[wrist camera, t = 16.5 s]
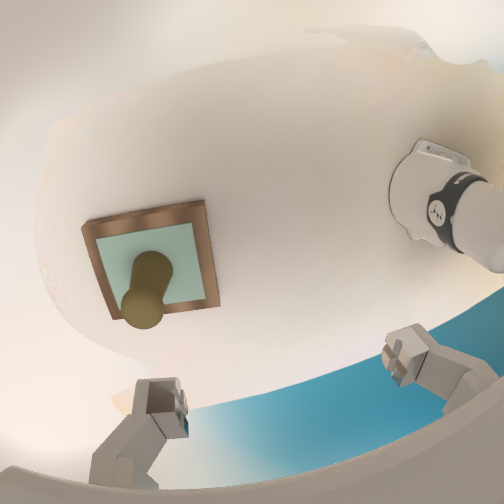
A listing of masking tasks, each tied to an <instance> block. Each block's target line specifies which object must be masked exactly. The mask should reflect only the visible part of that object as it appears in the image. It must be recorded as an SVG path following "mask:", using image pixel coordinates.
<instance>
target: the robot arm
mask: <svg viewBox="0 0 504 504" xmlns="http://www.w3.org/2000/svg"><path fill="white" fill-rule="evenodd" d="M427 147H428V148H427ZM390 206H391V210H392V213H393V215H394V217H395V219H396V220H397V221H398V222H399V223H400V224H401V225H402V226H403V227H405V228H406V229H407V231H408V234H409V236H410V238H411V239H413V240H415V241H418V240H421V239H424V240H426V241H428V242H430V243H432V244H434V245H436V246H438V247H442V246H445V245H447V246H448V247H449V248H450V249H452V250H454V251H457V252H458V253H461V254H466V255H468V256H469V257H470V258H472V259H473V260H475V261H476V262H478V263H479V264H481V265H482V266H483V267H485V268H486V269H488V270H489V271H491V272H493V273H501V274H502V273H504V188H501V187H498V186H495V185H492V184H490V183H488V181H486V180H485V179H484V178H483V177H482V176H481V174H480V172H479V171H477V170H474V169H472V168H471V163H470V160H469V157H467V156H464V155H462V154H460V153H457V152H455V151H452V150H450V149H447V148H445V147H442V146H440V145H437V144H434V143H432V142H429V141H426V140H423V139H420V140H418V142H417V143H416V145H415V147H414V149H413V151H412V152H411V153H410V154H409V155H408V156H407V157H406V158H405V159H404V160H403V161H402V162H401V163H400V164H399V166H398V167H397V169H396V171H395V173H394V175H393V178H392V181H391V186H390ZM385 341H386V343H387V344H386V345H385V347H384V348H383V350H382V361H383V364H384V366H385V368H386V369H387V370H389V371H391V372H392V378H393V380H394V381H395V382H396V384H397V386H398V387H402V386H405V385H407V384H410V383H412V382H415V381H416V383H417V384H419V385H421V386H422V387H424V388H426V389H428V390H429V391H431V392H433V393H434V394H436V395H438V396H440V397H442V398H443V399H445V400H447V401H448V402H447V403H446V405H445V406H444V408H443V411H442V412H443V414H444V415H445V416H443V417H441V418H440V419H438V420H436V421H434V422H432V423H431V424H429V425H427V426H425V427H423V428H421V429H419V430H417V431H415V432H413V433H411V434H409V435H407V436H405V437H403V438H401V439H398V440H396V441H394V442H392V443H389V444H387V445H384V446H382V447H380V448H377V449H375V450H372V451H370V452H367V453H364V454H362V455H359V456H356V457H353V458H351V459H348V460H345V461H342V462H339V463H336V464H332V465H329V466H326V467H322V468H319V469H315V470H312V471H308V472H304V473H300V474H296V475H292V476H287V477H283V478H278V479H273V480H268V481H262V482H256V483H250V484H243V485H236V486H226V487H216V488H204V489H185V490H184V489H183V490H159V485H158V483H156V482H155V481H154V480H153V479H152V478H151V477H150V476H149V475H148V474H147V472H148V470H149V469H150V467H151V465H152V464H153V462H154V461H155V459H156V457H157V456H158V454H159V452H160V451H161V449H162V448H163V446H164V444H165V443H166V441H167V439H175V438H187V437H189V433H188V432H189V431H188V421H187V419H186V415H187V414H188V406H187V399H186V396H185V393H184V390H182V389H180V381H179V379H178V377H173V378H156V379H139V380H138V381H137V383H136V388H135V394H134V401H133V409H132V414H129V415H127V416H126V418H125V419H124V420H123V421H122V422H121V423H120V424H119V425H118V426H117V428H116V429H115V430H114V431H113V432H112V433H111V434H110V435H109V436H108V438H107V439H106V440H105V441H104V442H103V443H102V444H101V445H100V446H99V448H98V449H97V450H96V451H95V452H94V453H93V455H92V462H91V469H90V475H89V483H82V482H77V481H71V480H66V479H61V478H57V477H53V476H49V475H45V474H41V473H37V472H33V471H30V470H27V469H24V468H21V467H17V466H10V467H8V468H6V469H5V470H3V471H2V472H1V473H0V504H504V376H503V377H502V378H499V377H498V375H497V374H496V373H495V372H494V371H493V370H492V369H491V368H490V366H489V365H488V364H487V363H486V362H485V361H484V360H481V359H478V358H475V357H473V356H470V355H468V354H465V353H462V352H460V351H457V350H454V349H452V348H449V347H447V346H444V345H441V346H440V345H439V344H438V343H437V342H436V341H435V340H434V339H433V338H432V337H431V335H430V334H429V333H428V332H427V331H426V330H425V329H424V328H423V327H422V326H421V325H420V324H418V323H417V324H414V325H411V326H408V327H405V328H402V329H399V330H396V331H394V332H391V333H388V334H387V336H386V339H385Z"/></svg>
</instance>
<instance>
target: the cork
mask: <svg viewBox="0 0 504 504" xmlns="http://www.w3.org/2000/svg"><path fill="white" fill-rule="evenodd" d="M172 275H173V267H172V264H171V262H170V260H169V259H168V258H167V257H166V256H165V255H164V254H162V253H160V252H157V251H145V252H142V253H141V254H139V255H138V256H137V257H136V258H135V260H134V262H133V265H132V272H131V279H130V286H129V290H128V291H127V292H126V293H125V294H124V296H123V297H122V301H121V304H120V305H121V313H122V315H123V317H124V319H125V320H126V321H127V323H128V324H130V325H131V326H133V327H135V328H138V329H149V328H152V327H154V326H156V325H157V324H158V323H159V322H160V321H161V319H162V317H163V314H164V303H163V300H162V299H163V297H164V295H165V292H166V290H167V287H168V285H169V283H170V280H171V278H172Z"/></svg>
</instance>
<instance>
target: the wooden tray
mask: <svg viewBox="0 0 504 504" xmlns="http://www.w3.org/2000/svg"><path fill="white" fill-rule="evenodd" d="M81 230H82V234H83V237H84V240H85V244H86V247H87V250H88V254H89V257H90V260H91V263H92V266H93V269H94V272H95V275H96V277H97V280H98V283H99V286H100V289H101V291H102V294H103V297H104V299H105V302H106V304H107V307H108V309H109V312H110V314H111V317H112V319H113V320H117V319H124V317H123V315H122V313H121V305H120V304H121V301H122V297H123V296H124V294H125V293H126V292H127V291H128V290H129V286H130V279H131V272H132V265H133V262H134V260H135V258H136V257H137V256H138V255H139V254H141V253H142V252H145V251H157V252H160V253H162V254H164V255H165V256H166V257H167V258H168V259H169V260H170V262H171V264H172V267H173V275H172V278H171V280H170V283H169V285H168V287H167V290H166V292H165V295H164V297H163V299H162V300H163V303H164V314H168V313H176V312H184V311H191V310H198V309H205V308H212V307H219V306H221V305H220V297H219V291H218V285H217V279H216V274H215V268H214V262H213V255H212V249H211V243H210V236H209V230H208V223H207V217H206V210H205V203H204V200H201V201H194V202H188V203H181V204H175V205H169V206H163V207H157V208H152V209H146V210H141V211H135V212H130V213H125V214H119V215H114V216H109V217H104V218H100V219H95V220H90V221H87V222H86V223H85V224H84V225H83V226H82V227H81Z"/></svg>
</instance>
